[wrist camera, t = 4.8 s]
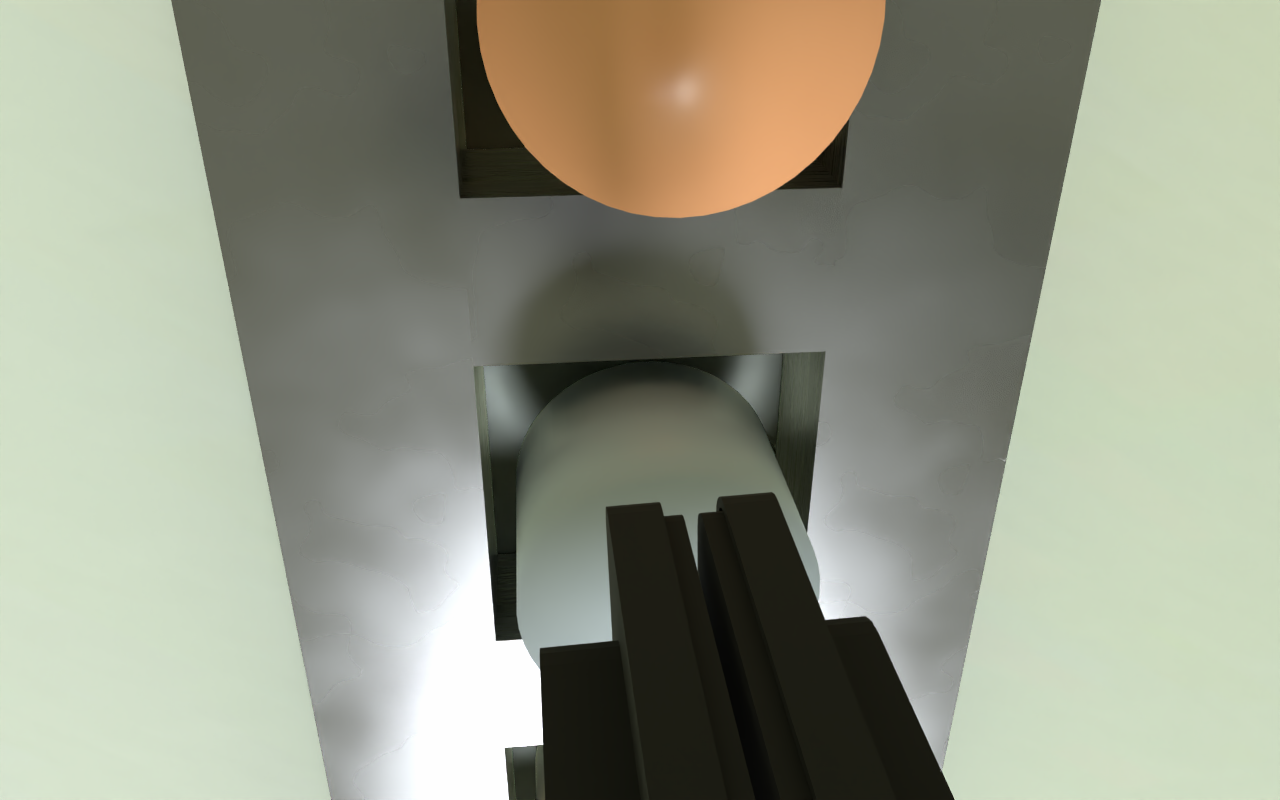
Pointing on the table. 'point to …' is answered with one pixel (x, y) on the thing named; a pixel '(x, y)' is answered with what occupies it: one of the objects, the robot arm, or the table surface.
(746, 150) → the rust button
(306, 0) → the panel
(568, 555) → the slate button
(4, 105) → the table surface
